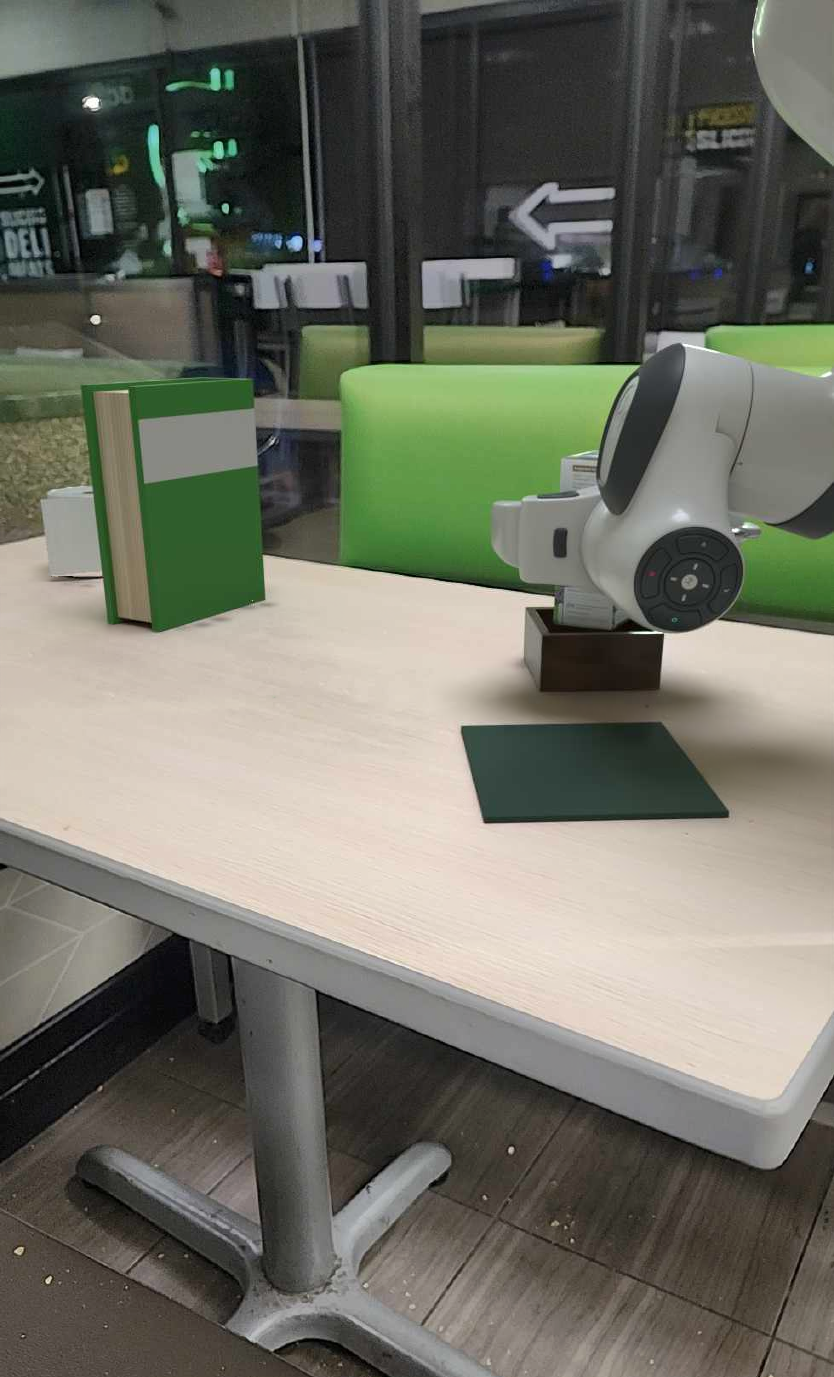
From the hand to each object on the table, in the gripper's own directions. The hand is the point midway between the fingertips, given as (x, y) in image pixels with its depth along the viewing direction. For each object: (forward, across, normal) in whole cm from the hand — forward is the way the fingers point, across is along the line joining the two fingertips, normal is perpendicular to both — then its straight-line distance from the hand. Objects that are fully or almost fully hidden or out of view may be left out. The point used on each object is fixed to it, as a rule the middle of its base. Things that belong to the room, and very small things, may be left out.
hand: (598, 511), depth 99 cm
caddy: (-1, 0, +14) cm, 14 cm away
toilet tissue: (+49, +56, +14) cm, 75 cm away
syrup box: (-1, 0, +10) cm, 10 cm away
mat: (-25, +5, +14) cm, 29 cm away
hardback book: (+26, +40, +14) cm, 50 cm away
